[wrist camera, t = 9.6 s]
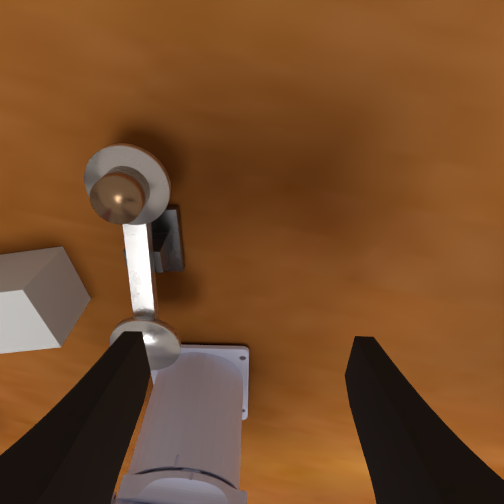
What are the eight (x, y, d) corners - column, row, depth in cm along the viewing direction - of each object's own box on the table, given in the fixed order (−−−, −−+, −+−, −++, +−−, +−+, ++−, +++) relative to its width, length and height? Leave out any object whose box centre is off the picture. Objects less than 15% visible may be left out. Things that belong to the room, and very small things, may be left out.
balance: (195, 314, 25) (182, 371, 20) (140, 312, 25) (117, 369, 20) (177, 130, 18) (152, 160, 13) (101, 129, 18) (52, 158, 13)
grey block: (91, 298, 24) (61, 347, 20) (33, 305, 25) (-8, 354, 21) (63, 245, 22) (22, 289, 18) (-1, 254, 22) (-54, 299, 18)
